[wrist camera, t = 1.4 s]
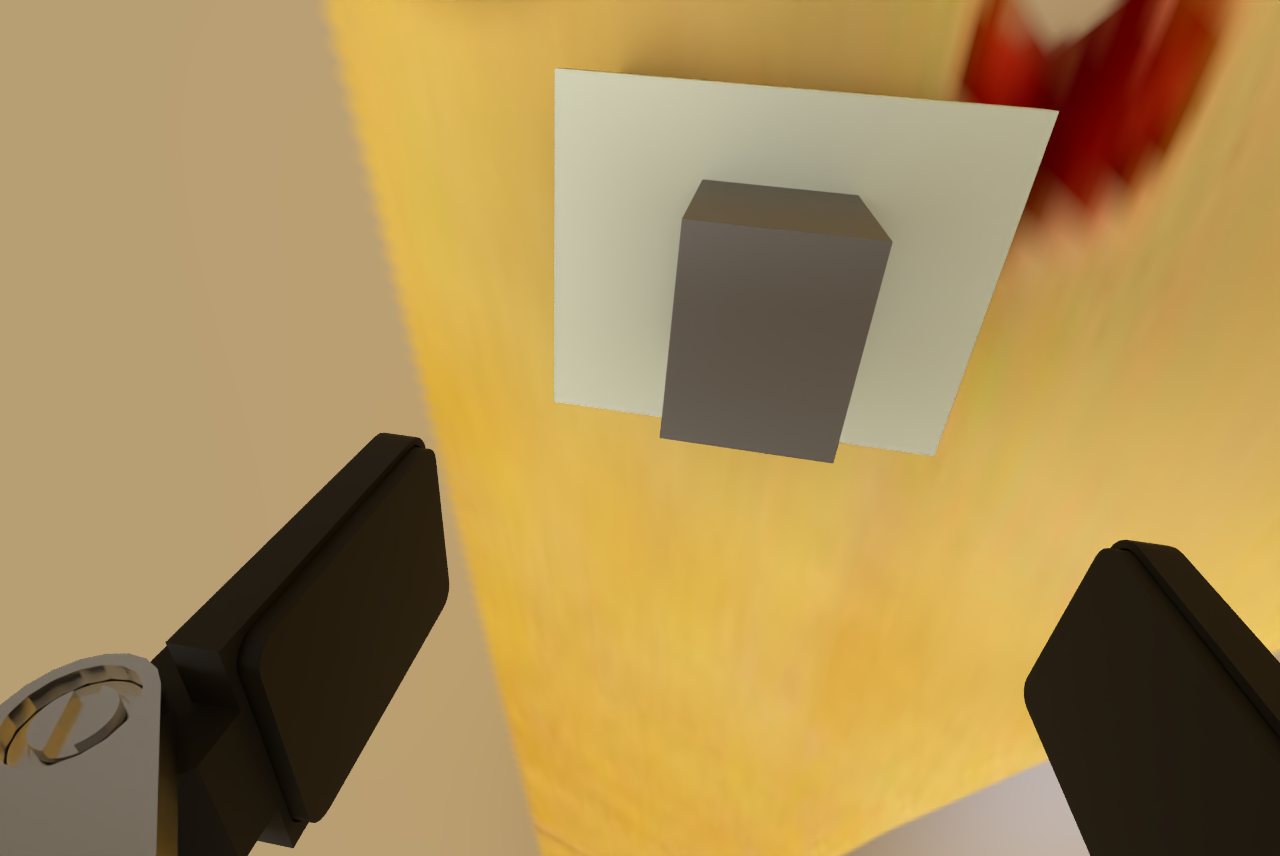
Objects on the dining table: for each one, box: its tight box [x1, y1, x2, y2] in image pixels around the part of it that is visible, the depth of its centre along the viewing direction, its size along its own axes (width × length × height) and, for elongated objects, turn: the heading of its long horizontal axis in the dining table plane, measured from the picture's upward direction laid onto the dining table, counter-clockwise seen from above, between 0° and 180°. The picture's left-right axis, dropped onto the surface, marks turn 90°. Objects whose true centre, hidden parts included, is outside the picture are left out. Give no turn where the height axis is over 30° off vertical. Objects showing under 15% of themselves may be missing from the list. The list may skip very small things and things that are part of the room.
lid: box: [554, 68, 1059, 463], centre depth 20 cm, size 14×11×8 cm
